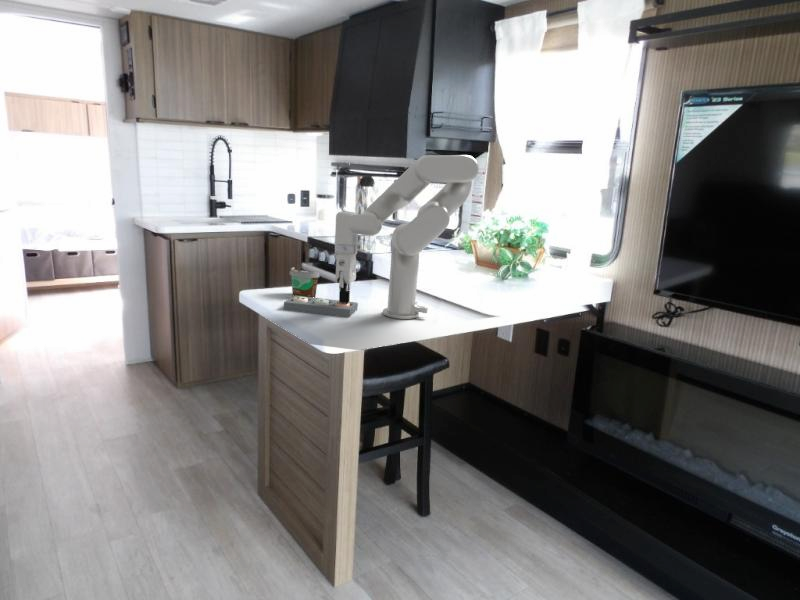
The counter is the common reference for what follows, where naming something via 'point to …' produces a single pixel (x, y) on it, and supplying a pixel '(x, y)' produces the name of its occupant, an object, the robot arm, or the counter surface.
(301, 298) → the button two dot
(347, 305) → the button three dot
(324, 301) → the button one dot
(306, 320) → the counter surface
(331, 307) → the gray rectangular tray
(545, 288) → the counter surface
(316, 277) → the food container
